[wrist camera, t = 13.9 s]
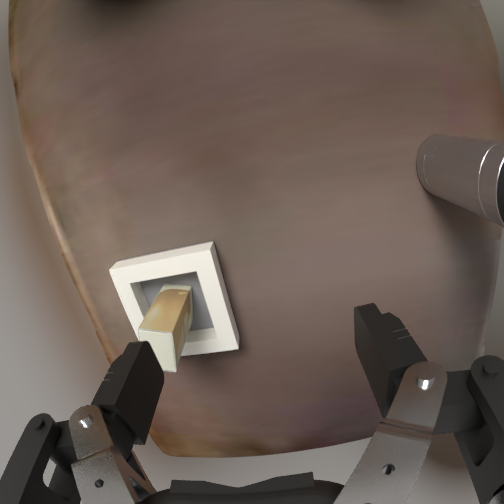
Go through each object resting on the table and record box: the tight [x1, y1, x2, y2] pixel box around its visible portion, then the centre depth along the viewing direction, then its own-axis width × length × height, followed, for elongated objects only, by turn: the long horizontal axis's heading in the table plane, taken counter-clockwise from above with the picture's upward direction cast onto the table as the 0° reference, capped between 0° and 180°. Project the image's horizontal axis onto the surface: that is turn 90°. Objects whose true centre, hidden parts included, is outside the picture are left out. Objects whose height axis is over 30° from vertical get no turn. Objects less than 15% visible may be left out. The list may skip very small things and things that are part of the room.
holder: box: [109, 241, 240, 356], centre depth 43 cm, size 15×16×4 cm
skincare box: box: [138, 284, 193, 372], centre depth 39 cm, size 6×4×12 cm
